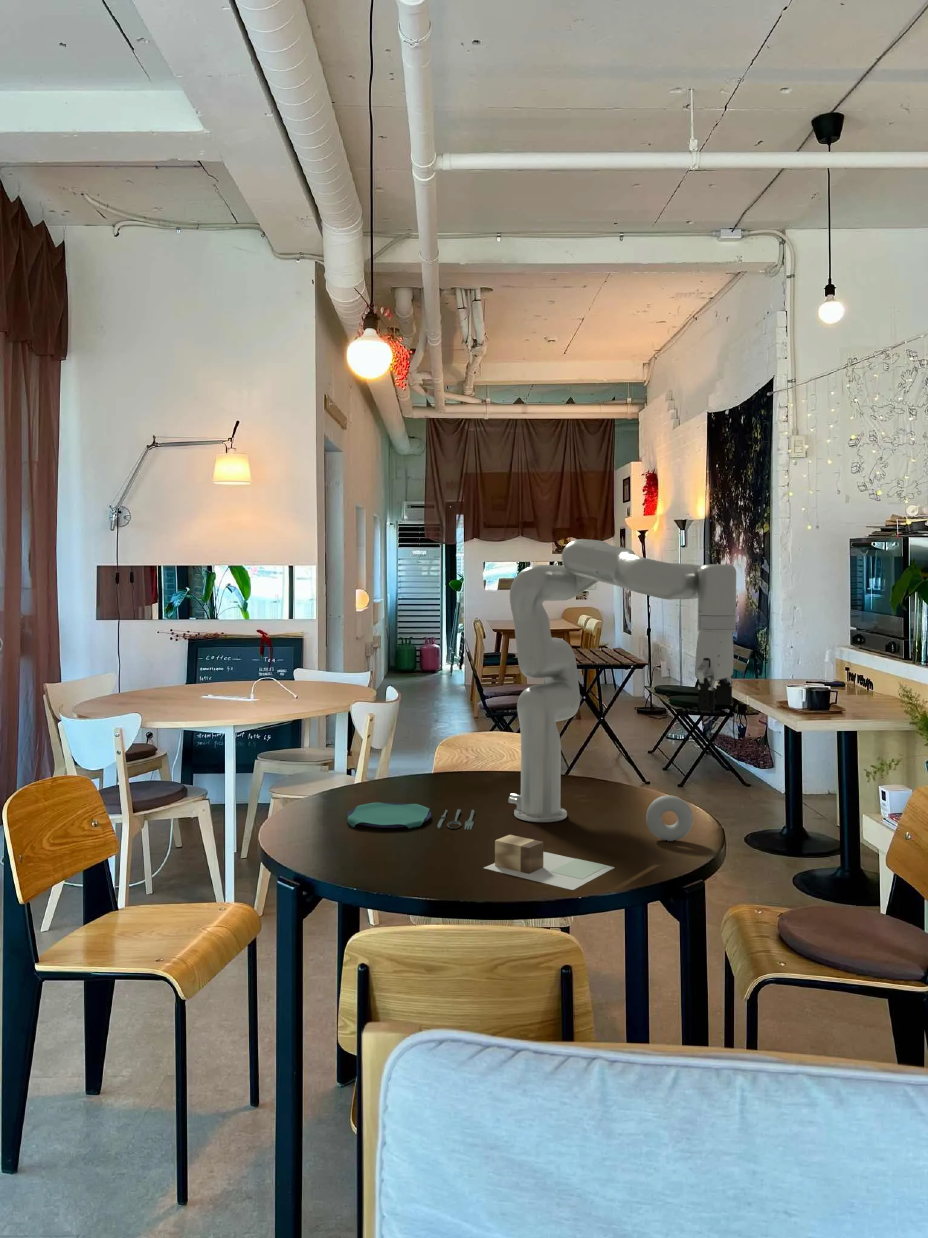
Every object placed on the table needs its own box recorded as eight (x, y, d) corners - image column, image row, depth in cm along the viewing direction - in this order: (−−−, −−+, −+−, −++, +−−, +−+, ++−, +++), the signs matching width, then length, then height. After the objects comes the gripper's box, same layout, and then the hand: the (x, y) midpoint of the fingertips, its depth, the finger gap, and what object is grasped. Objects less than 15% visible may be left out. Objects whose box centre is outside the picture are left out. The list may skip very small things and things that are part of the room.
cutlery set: (357, 808, 219) (357, 799, 219) (477, 814, 216) (477, 805, 216) (337, 832, 199) (337, 822, 199) (470, 838, 196) (470, 828, 196)
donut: (645, 842, 191) (646, 796, 190) (645, 837, 194) (645, 792, 194) (693, 844, 189) (694, 798, 188) (692, 840, 192) (692, 794, 192)
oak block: (494, 865, 172) (495, 840, 172) (509, 859, 176) (509, 834, 176) (529, 874, 168) (529, 848, 167) (543, 867, 171) (543, 842, 171)
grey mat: (483, 871, 171) (483, 867, 171) (528, 851, 184) (528, 848, 184) (572, 893, 159) (572, 889, 159) (614, 870, 172) (614, 867, 172)
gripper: (714, 622, 191) (713, 701, 191) (682, 625, 177) (681, 710, 178) (748, 623, 186) (747, 704, 187) (718, 626, 172) (717, 713, 173)
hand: (715, 707), depth 182 cm, fingers open, 9 cm apart
